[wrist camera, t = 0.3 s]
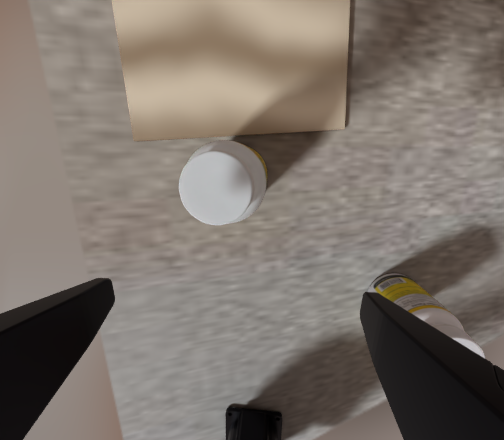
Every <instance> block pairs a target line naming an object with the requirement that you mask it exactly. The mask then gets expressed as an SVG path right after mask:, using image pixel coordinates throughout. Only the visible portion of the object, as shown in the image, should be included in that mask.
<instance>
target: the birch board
mask: <svg viewBox="0 0 504 440" xmlns="http://www.w3.org/2000/svg"><path fill="white" fill-rule="evenodd" d="M112 5H113V11H114V18H115V24H116V30H117V37H118V43H119V50H120V56H121V62H122V69H123V75H124V81H125V88H126V94H127V101H128V107H129V113H130V120H131V126H132V133H133V139H134V141H152V140H170V139H187V138H205V137H222V136H240V135H257V134H275V133H292V132H310V131H327V130H343V129H345V112H346V88H347V64H348V40H349V17H350V0H112Z"/></svg>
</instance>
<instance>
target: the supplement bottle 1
mask: <svg viewBox="0 0 504 440" xmlns="http://www.w3.org/2000/svg"><path fill="white" fill-rule="evenodd" d="M266 185H267V167H266V164H265V162H264V160H263V159H262V157H261V156H260V155H259V154H258V153H257V152H256V151H255V150H254V149H252V148H250V147H248V146H245V145H243V144H241V143H238V142H235V141H229V140H218V141H213V142H210V143H207V144H205V145H203V146H202V147H200V148H199V149H198V150H197V151H196V152H195V153H194V154H193V155H192V156H191V158H190V159H189V161H188V163H187V164H186V165H185V167H184V169H183V170H182V173H181V175H180V180H179V193H180V197H181V200H182V203H183V204H184V206H185V208H186V209H187V210H188V212H189V213H190V214H191V215H192V216H193V217H195V218H196V219H198V220H199V221H201V222H204V223H206V224H210V225H224V224H228V223H235V222H239V221H241V220H244V219H246V218H247V217H249V216H250V215H251V214H253V213H254V212H255V211H256V210H257V208H258V207H259V205H260V204H261V202H262V200H263V198H264V195H265V192H266Z"/></svg>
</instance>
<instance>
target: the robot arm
mask: <svg viewBox="0 0 504 440" xmlns="http://www.w3.org/2000/svg"><path fill="white" fill-rule="evenodd" d="M114 302H115V295H114V290H113V285H112V281H111V280H110V279H108V278H96V279H94V280H91V281H88V282H86V283H83V284H80V285H77V286H75V287H72V288H70V289H67V290H64V291H61V292H59V293H56V294H53V295H50V296H48V297H45V298H42V299H40V300H37V301H34V302H31V303H28V304H26V305H23V306H20V307H18V308H15V309H12V310H9V311H7V312H4V313H1V314H0V440H23V439H24V437H25V435H26V434H27V433H28V431H29V430H30V429H31V427H32V426H33V425H34V423H35V421H36V420H37V419H38V417H39V416H40V415H41V413H42V412H43V410H44V409H45V407H46V406H47V405H48V403H49V402H50V401H51V399H52V398H53V396H54V395H55V393H56V392H57V391H58V389H59V388H60V386H61V385H62V384H63V382H64V381H65V379H66V378H67V376H68V375H69V374H70V372H71V371H72V369H73V368H74V366H75V365H76V364H77V362H78V361H79V360H80V358H81V357H82V355H83V354H84V352H85V351H86V350H87V348H88V347H89V345H90V344H91V342H92V341H93V339H94V337H95V336H96V334H97V332H98V330H99V329H100V327H101V325H102V324H103V322H104V320H105V318H106V317H107V315H108V313H109V312H110V310H111V308H112V306H113V305H114ZM360 319H361V323H362V326H363V330H364V333H365V337H366V340H367V344H368V347H369V351H370V354H371V358H372V361H373V364H374V367H375V369H376V372H377V375H378V377H379V379H380V382H381V384H382V387H383V389H384V392H385V394H386V397H387V399H388V402H389V404H390V407H391V409H392V412H393V414H394V417H395V419H396V422H397V424H398V427H399V429H400V432H401V434H402V437H403V439H404V440H504V370H503V369H501V368H500V367H498V366H496V365H493V364H492V363H491V362H490V361H488V360H486V359H485V358H483V357H482V356H480V355H478V354H477V353H475V352H473V351H472V350H470V349H469V348H467V347H465V346H464V345H462V344H460V343H459V342H457V341H456V340H454V339H452V338H451V337H449V336H447V335H446V334H444V333H443V332H441V331H439V330H438V329H436V328H434V327H433V326H431V325H430V324H428V323H426V322H425V321H423V320H421V319H420V318H418V317H417V316H415V315H413V314H412V313H410V312H408V311H407V310H405V309H403V308H402V307H400V306H399V305H397V304H395V303H394V302H392V301H390V300H389V299H387V298H386V297H384V296H382V295H381V294H379V293H377V292H365V293H364V294H363V298H362V304H361V309H360ZM281 429H282V414H281V413H279V412H271V411H261V410H250V409H240V408H227V410H226V440H281Z"/></svg>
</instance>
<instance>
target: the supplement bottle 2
mask: <svg viewBox="0 0 504 440" xmlns="http://www.w3.org/2000/svg"><path fill="white" fill-rule="evenodd" d="M368 292H377V293H379V294H381V295H382V296H384V297H386V298H387V299H389V300H390V301H392V302H394V303H395V304H397V305H399V306H400V307H402V308H403V309H405V310H407V311H408V312H410V313H412V314H413V315H415V316H417V317H418V318H420V319H421V320H423V321H425V322H426V323H428V324H430V325H431V326H433V327H434V328H436V329H438V330H439V331H441V332H443V333H444V334H446V335H447V336H449V337H451V338H452V339H454V340H456V341H457V342H459V343H460V344H462V345H464V346H465V347H467V348H469V349H470V350H472V351H473V352H475V353H477V354H478V355H480V356H482V357H483V358H485V356H484V352H483V350H482V349H481V347H480V346H479V345H478V344H477V343H476V342H475V341H474V340H473V339H472V338H471V337H470V336H469V335H468V334H467V333H466V332H465V331H464V329H463V326H462V324H461V323H460V321H459V320H458V319H457V318H456V317H455V316H454V315H453V314H452V313H451V312H449V311H448V310H447V309H446V308H445V307H444V306H442V305H441V304H440V303H439V302H438V301H437V300H435V299H434V298H433V297H432V296H431V295H430V294H428V293H427V292H426V291H425V290H424V289H423V288H421V287H420V286H419V285H418V284H417V283H415V282H414V281H413V280H412V279H411V278H409V277H407V276H405V275H402V274H395V273H393V274H386V275H383V276H381V277H379V278H378V279H376V280H375V281H374V282H373V283H372V284H371V286H370V288H369V290H368Z"/></svg>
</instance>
